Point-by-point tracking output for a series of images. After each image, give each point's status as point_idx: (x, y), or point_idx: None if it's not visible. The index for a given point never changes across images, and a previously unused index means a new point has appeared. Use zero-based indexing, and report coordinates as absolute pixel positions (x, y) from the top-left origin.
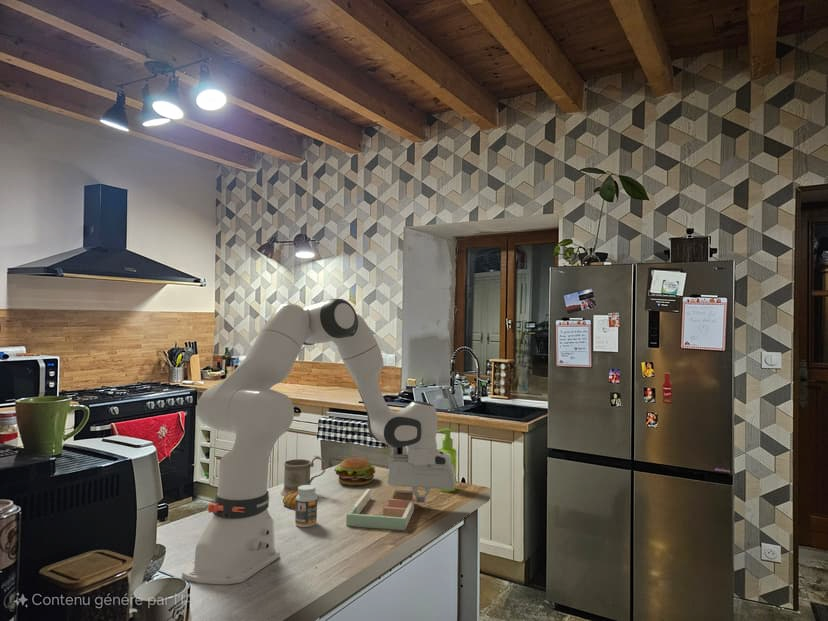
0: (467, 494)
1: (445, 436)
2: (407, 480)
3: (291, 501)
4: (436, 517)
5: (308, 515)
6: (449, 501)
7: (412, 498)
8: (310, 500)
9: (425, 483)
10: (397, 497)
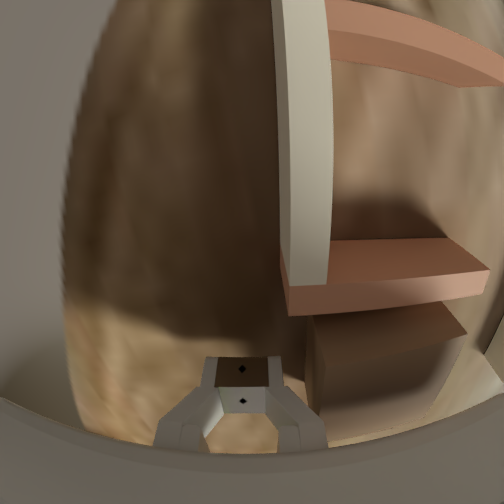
0: None
1: None
2: (400, 490)
3: None
4: (86, 169)
5: None
6: (132, 413)
7: (310, 392)
8: None
9: (171, 489)
10: (431, 330)
